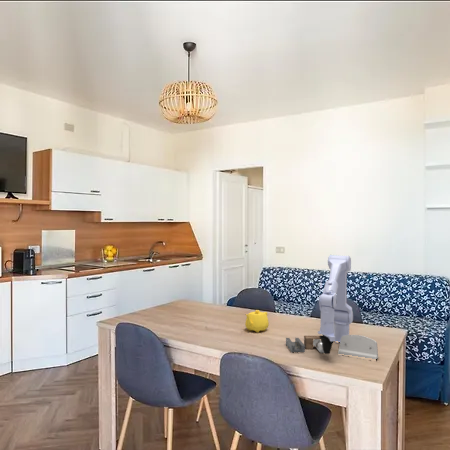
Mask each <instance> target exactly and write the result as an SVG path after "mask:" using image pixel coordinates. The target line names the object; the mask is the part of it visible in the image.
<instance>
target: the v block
mask: <svg viewBox="0 0 450 450" xmlns="http://www.w3.org/2000/svg"><path fill="white" fill-rule="evenodd" d="M294 339H295V341H292V339H291V338H290V337H285V346H286V347H287V346H288V347H287V349H288V350H289V349H290V350H289V351H290V353H291V352H306V348H305V345H304V342H303V341H302V340H301V339H300V338H299V337H295V338H294Z"/></svg>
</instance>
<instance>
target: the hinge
mask: <svg viewBox="0 0 450 450" xmlns="http://www.w3.org/2000/svg"><path fill="white" fill-rule="evenodd" d="M338 354H344V355H352V356H358V357H365V358H372V359H377V360H378V359H379V348H378V342H377V341H376V340H375V339H373V338H370V337H367V336H365V335H360V334H349V335H346V336H342V337H341V341H340V343H339V345H338V351H337V355H338Z"/></svg>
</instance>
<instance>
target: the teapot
mask: <svg viewBox="0 0 450 450" xmlns="http://www.w3.org/2000/svg"><path fill="white" fill-rule="evenodd" d="M245 316H246V319H245V328H246V329H248V331H250V332H251V331H255V333H256V334H257V333H260V331H262V332H265V330H267V329H268V328H269V325H270V324H269V323H270V321H269V318H268V312H267V311H260V310H259V309H256V310H255V311H251V312H249V313H247V314H245Z"/></svg>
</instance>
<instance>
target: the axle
mask: <svg viewBox="0 0 450 450" xmlns="http://www.w3.org/2000/svg"><path fill="white" fill-rule="evenodd" d="M313 347H315V348H316V349H317V350H318V353H320V354H322V353H324V351H323V345H322V342H321V339H313Z"/></svg>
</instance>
